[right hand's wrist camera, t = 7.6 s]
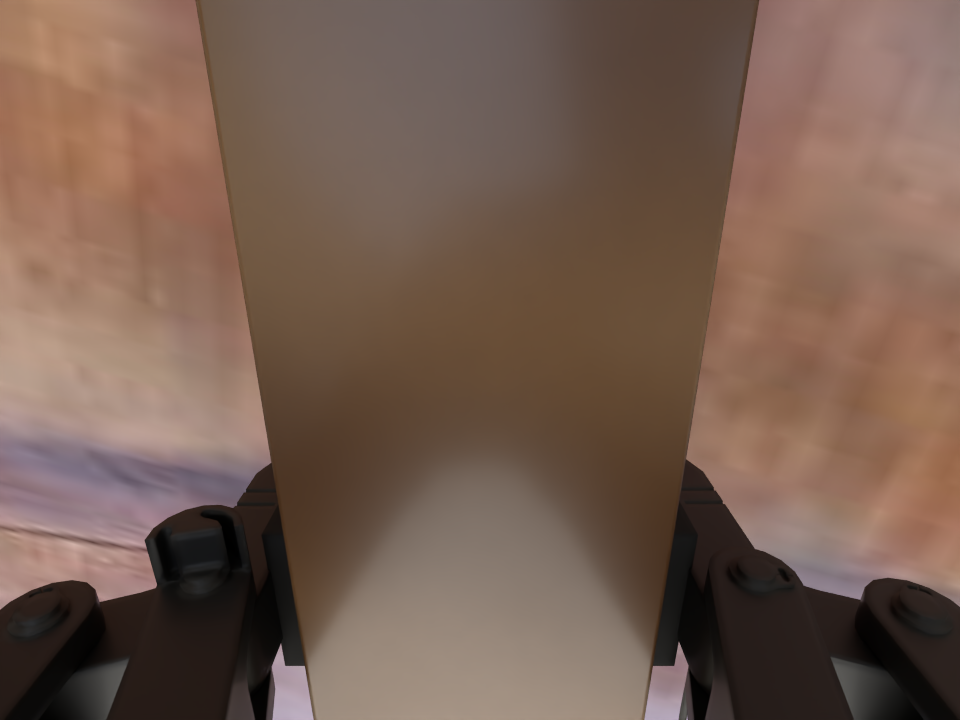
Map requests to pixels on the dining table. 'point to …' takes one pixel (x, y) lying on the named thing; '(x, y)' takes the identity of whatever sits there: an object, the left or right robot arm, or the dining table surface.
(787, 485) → the dining table surface
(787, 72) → the dining table surface
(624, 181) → the beam
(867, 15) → the dining table surface
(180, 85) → the dining table surface
